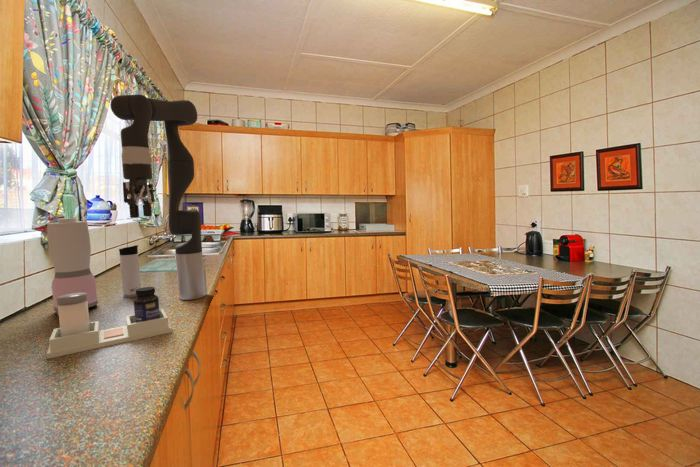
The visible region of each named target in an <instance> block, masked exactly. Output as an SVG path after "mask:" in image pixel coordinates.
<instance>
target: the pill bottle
mask: <svg viewBox="0 0 700 467" xmlns="http://www.w3.org/2000/svg"><path fill="white" fill-rule="evenodd" d="M155 292H156V287H154V286H143V287H141V288H139V289H136V295H137V296H136V298H135V297H134V300H133V308H134V309H133V310H134V314H135V322H136V323H137V322H142V321H148V320H153V319H158V318H160V313H159V310H160V303H159V302H160V300H159V296H158V295H156V294H155Z"/></svg>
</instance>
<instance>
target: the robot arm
mask: <svg viewBox="0 0 700 467" xmlns="http://www.w3.org/2000/svg"><path fill="white" fill-rule="evenodd" d="M110 109H111V112H112V114H114V116H115V117H116V118H118V119H120V120H121V121H122V120H123V121H132V124H131V125H128V126H126V127H125V126H124V127H123V128H122V129H120V140H121V141H120V142H121V164H122V165H121V167H122V176H123V179H124V180H128V181H123V182H122V189H123V190H122V191H123V192H122V193H123V202H124V203H125V204H126V205H128V208H129V217H130V218H131V219H133V218H134V219H136V218H138V219H139V218H140V210H139V205H138V204H139V202H141V203H142V213H143V217H152V214H153V213H152V212H153V211H152V204H153V203H155V193H154V186H153V183H148V181H149V180H152V179H153V173H152V172H153V170H152V159H151V153H150V147H149V138H148V137H149V131H150V126H151V125H150V124H151V121H152V122H163V126H164V134H165V138H166V139H165V141H166V142H165V143H166V169H167V182H168V183H167V184H168V229H169V233H170V234H171V235H172V236H189V235H191V236H190V237H191V238H189V239H188V240H186V241H185V242H183V243H182V242H181V243H179V244H178V245H176V246H175V249H174V251H175V261H176V262H175V263H176V273H177V276H176V277H177V287H178V298H179V300H182V301H183V300H184V301H187V300H188V301H189V300H196V299H200V298H204V297H205V296H206V295H207V294H208V288H207V287H208V286H207V276H206V275H207V274H206V270H205V269H204V259H203V246H202V245H203V244H202V243H203V242H202V219H201V214H200V212H199V210H196V209H182V210H180V205H181V201H182V199H183V197H184V195H185V193H186V191H187V190H188V188H189V187H190V185H191V184H192V182H193V181H194V177H195V161H194V157H193V155H192V154H191V153H190V151H189V150H188V148H187V147H186V146H185V144H184V143H183V141H182V140H181V137H180V134H179V133H180V132H179V127H181V126H183V127H184V126H191V125H194V124H196V122H197V120H198V112H197V111H198V110H197V108H196V106H195V104H194V103H193V102H192V101H190V100H186V99H180V100H171V101H169V100H163V99H158V98H157V99H156V98H151V97H147V96H146V95H143V94H120V95H116V96H114V97H113V98H111V100H110ZM139 200H140V201H139Z"/></svg>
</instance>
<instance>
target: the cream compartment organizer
mask: <svg viewBox="0 0 700 467" xmlns="http://www.w3.org/2000/svg"><path fill="white" fill-rule="evenodd" d="M56 300H57V305H58V313H59V315H58V318H59V319H58V320H59V327H56V328H53V330H52V333H51V335H50V337H49V340H48V341H49V346H48V349H47V352H46V355H45V356H46V359H51V358H52V359H53V358H58V357H62V356H66V355H72V354H75V353H81V352H85V351H89V350H94V349H99V348H104V347H109V346H113V345H119V344H123V343H127V342H132V341H136V340H141V339H147V338H152V337H156V336H160V335H164V334H165V335H166V334H169V333H170V334H171V333H172V332H173V328H172V326H171V324H170V322H169V317H168V315H167V314H166V312H165V310H164V309H163V308H162V309H159V313H160V318H158V319H153V320H148V321H142V322H137V323H136V322H135V313H134V314H130V315H129V314H128V315H126V316H125V320H126V325H122V326H117V327H112V328H107V329H101V330H100V321H99V320H97V321H96V320H95V321H91V322H90V316H89V314H90V313H89V307H88V303H87V300H88V299H87V293H72V294H66V295H62V296H59V297H57V298H56Z"/></svg>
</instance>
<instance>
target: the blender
mask: <svg viewBox="0 0 700 467" xmlns="http://www.w3.org/2000/svg"><path fill="white" fill-rule="evenodd" d="M88 224H89V223H88V222H87V220H85V221H81V220H79V221H78V219H77V217H64V218H62V217H61V218H57V222H49V223H47V224H46V229H47V230H46V232H47V242H48V252H49V256H50V260H51V262H52V266H53V268H54V277H53V279H52V281H51V291H52V301H53V311H54V312H56V315H57V316H59V313H58V305H57V300H56V298H57V297H59V296H62V295H66V294H72V293H87V299H88V300H87V303H88V308H91V307H94V306H98V304H99V299H98V292H97V282H96V278H95V276H94V273H92V271H91V268H90V266H91V265H90V264H91V255H92V254H91V253H92V252H91V251H92V248H91V237H90V230H89V225H88Z"/></svg>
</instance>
